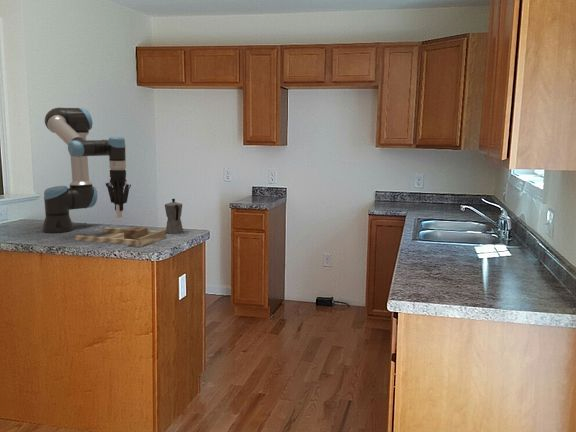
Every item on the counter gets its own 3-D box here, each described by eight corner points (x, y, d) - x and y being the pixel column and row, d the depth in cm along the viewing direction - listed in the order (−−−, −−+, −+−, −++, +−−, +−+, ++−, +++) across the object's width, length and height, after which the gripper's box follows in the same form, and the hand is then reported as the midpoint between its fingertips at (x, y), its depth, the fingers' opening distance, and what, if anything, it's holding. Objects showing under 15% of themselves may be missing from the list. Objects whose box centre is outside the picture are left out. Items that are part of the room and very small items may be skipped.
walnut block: (124, 240, 257) (123, 229, 256) (133, 236, 264) (133, 226, 264) (138, 241, 254) (138, 230, 254) (147, 237, 262) (147, 227, 261)
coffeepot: (162, 230, 285) (161, 197, 282) (180, 229, 289) (179, 196, 286) (169, 236, 271) (168, 201, 268) (187, 234, 275) (186, 200, 272)
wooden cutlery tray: (75, 242, 256) (74, 233, 256) (105, 233, 278) (104, 225, 278) (140, 247, 246) (140, 238, 245) (166, 237, 268) (166, 229, 267)
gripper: (101, 169, 255) (103, 217, 259) (125, 170, 251) (126, 219, 256) (110, 167, 262) (112, 215, 266) (134, 169, 258) (135, 217, 263)
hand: (119, 217), depth 261 cm, fingers closed
